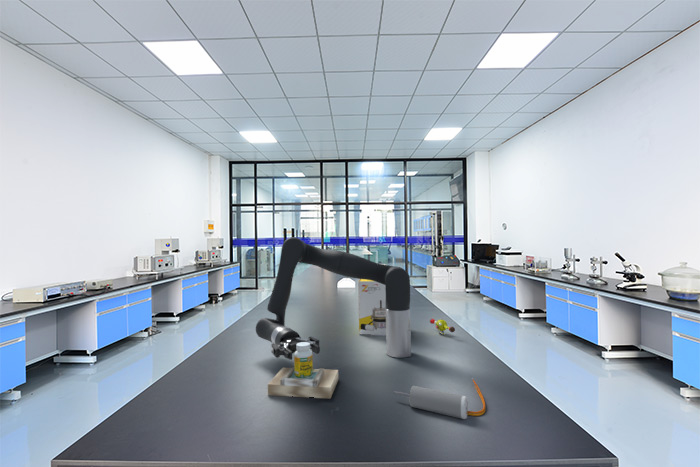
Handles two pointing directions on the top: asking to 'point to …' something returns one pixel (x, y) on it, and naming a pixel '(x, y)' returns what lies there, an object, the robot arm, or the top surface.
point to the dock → (304, 384)
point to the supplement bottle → (303, 361)
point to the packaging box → (372, 307)
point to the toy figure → (442, 326)
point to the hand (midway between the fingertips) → (305, 353)
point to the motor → (442, 402)
